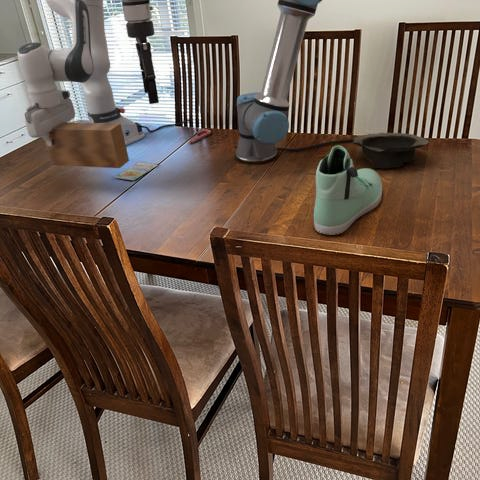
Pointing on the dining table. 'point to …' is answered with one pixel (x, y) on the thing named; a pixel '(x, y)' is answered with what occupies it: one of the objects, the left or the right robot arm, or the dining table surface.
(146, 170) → the baking ingredient package
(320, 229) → the sneaker
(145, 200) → the dining table surface
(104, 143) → the box
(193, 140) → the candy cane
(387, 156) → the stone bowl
